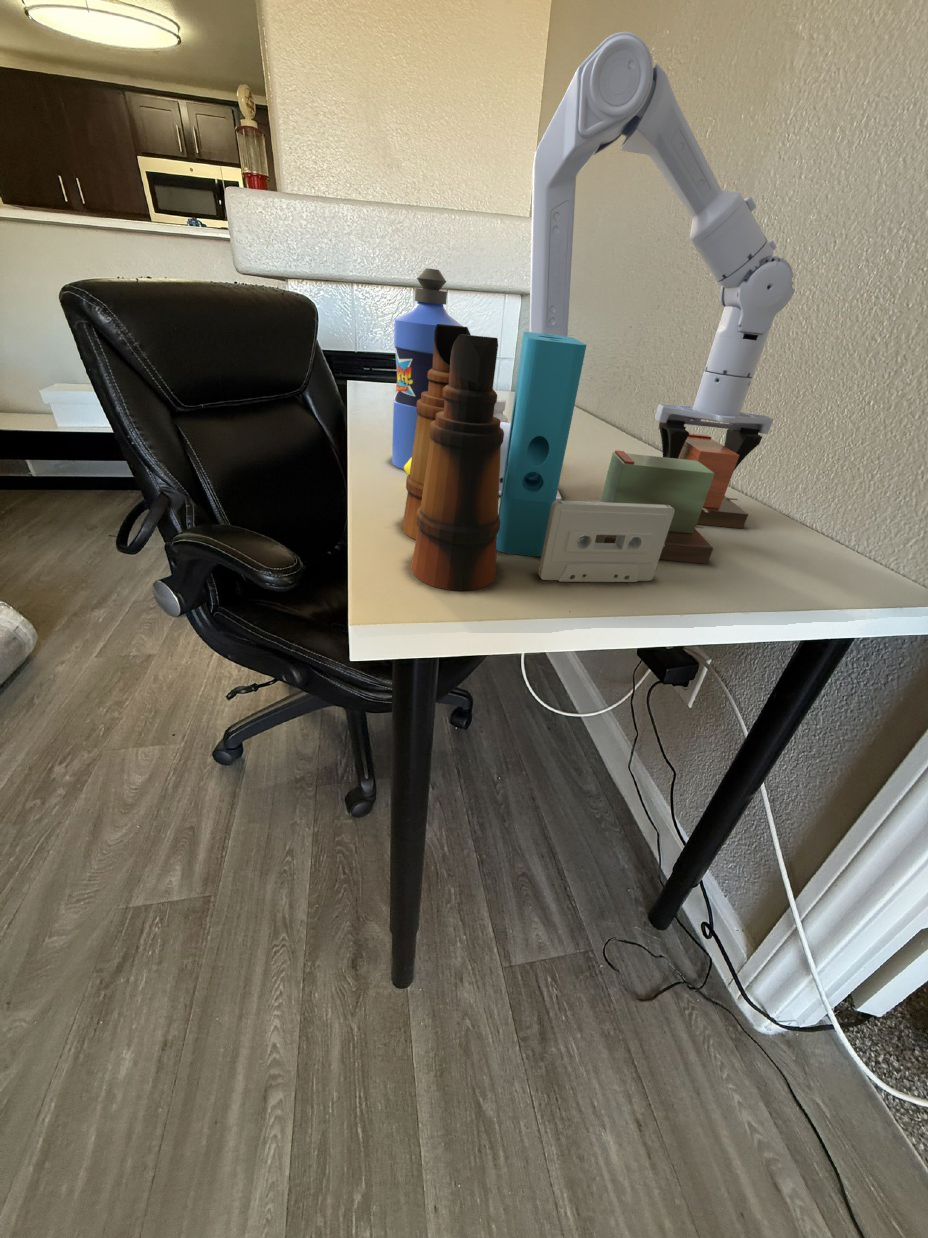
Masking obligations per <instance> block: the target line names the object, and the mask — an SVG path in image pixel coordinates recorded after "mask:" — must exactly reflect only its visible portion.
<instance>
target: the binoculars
mask: <svg viewBox="0 0 928 1238" xmlns="http://www.w3.org/2000/svg"><path fill="white" fill-rule="evenodd" d="M498 339H499V338H498V337H492V336H483V335H482V336H481V335H473V334H471V332H470V330H469V327H468V326H464V325H462V326H454V325H444V324H437V325H436V328H435V332H434V350H433V367H432V369H431V370H429V371H428V376H427V378H428V380H429V386H428V391H425V392H422V393H421V399H419V400H418V401H417V407H416V411H417V414H418V415H417V423H416V430H415V438H414V445H413V453H412V460H411V467H410V474H409V475H407V476H406V480H405V481H406V482H405V489H406V491H407V495H406V500H405V507H404V514H403V520H402V525H401V530H402V531H403V533H404V534H405V535H407V536H408V537H409V538H411V539H413V540H415V542H414V544H415V545H414V549H413V554H412V558H411V559H412V560H411V567H410V570H411V572H412V574H413V576H414V577H415V578H417V579H418V580H419V581H421V582H422V583H424V584H426V585H428V586H431V587H433V588H438V589H441V590H447V591H459V592H464V591H474V590H478V589H482V588H485V587H487V586H489V585H490V584H491V583H493V582H494V580H495V579H496V576H497V549H496V539H497V533H498V531H499V528H500V518H499V515H498V513H499V502H500V495H499V477H500V453H501V445H502V443H503V439H504V431H503V429H502V428H500V423H501V421H500V419H498V418H496V417H493V415H494V406H495V404H496V402H497V398H498V394H497V391H495V390H494V383H495V382H494V381H495V375H496V374H495V373H496V366H497V358H498V349H499V340H498Z"/></svg>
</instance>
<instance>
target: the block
mask: <svg viewBox="0 0 928 1238" xmlns="http://www.w3.org/2000/svg"><path fill="white" fill-rule="evenodd" d="M586 349H587V344H586V343H584V342H582V341H580V340H578V339H577V338H574V337H572V336H567V337H566V336H558V335H550V334H541V333H533V332H529V331H523V333H522V340H521V348H520V355H519V362H518V368H517V369H518V370H517V376H516V382H515V383H516V384H515V390H514V396H513V404H512V405H513V406H512V410H511V411H512V412H511V419H510V423H511V425H510V432H509V439H508V446H507V453H506V460H505V468H504V475H503V483H502V490H501V496H500V497H499V505H498V515H499V518H500V528H499V531H498V533H497V535H496V551H498V552H499V553H504V554H511V555H520V556H527V557H542V551H543V546H544V541H545V536H546V531H547V526H548V520H549V515H550V510H551V505H552V503H553V501H555V500H556V496H557V491H559V485H560V480H561V475H562V469H563V466H564V465H563V464H564V462H565V461H564V460H565V455H566V451H567V444H568V439H569V434H570V430H571V425H572V420H573V415H574V411H575V404H576V399H577V395H578V391H579V385H580V379H581V375H582V370H583V364H584V359H585V356H586V355H585V354H586Z"/></svg>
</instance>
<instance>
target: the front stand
mask: <svg viewBox="0 0 928 1238" xmlns="http://www.w3.org/2000/svg"><path fill="white" fill-rule="evenodd" d="M584 502H596V500H594V501H593V500H584ZM704 528H705V526H704V525H698V524H697V525H696V527H695V530H694V533H693V534H691V533H681V532H671V531H668V533H667V536H666V539H665V543H664V546H663V549H662V552H661V555H660V558H659V560H661V561H671V562H672V561H673V562H674V561H675V562H683V563H694V564H706V565H708V564H709V561H710V558H711V555H712V553H713V552H714V546H713V545H711V543H710V542H709V541H708V540H707V539H706V538H705V537H704V536H703V535H702V534H701V533H700V532H699V531H698V530H697V529H704ZM616 537H617V535H596V539H595V543H615V541H616Z"/></svg>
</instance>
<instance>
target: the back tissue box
mask: <svg viewBox="0 0 928 1238" xmlns="http://www.w3.org/2000/svg"><path fill="white" fill-rule="evenodd" d="M738 458H739V455H738V454H737V453H735V452H733V451H731V450H730V449H728V448H726V447H725V446H724V445H723V444H721V443H720V442H718V441H716V440H714V439H713V438H712V436H710V435H709V434H707V435H706V434H699V433H690V432H689V436H688V437H687V439H686V441H685V443H684V445H683V448H682V450H681V452H680V455H679V457H678V459H684V460H694V461H698V462H700V463H701V464H702V465H704V466H705V467H707V468H708V469H709V470H711V471H712V472H714V473H715V474H714V477H713V479H712V482H711V485H710V488H709V491H708V494H707V496H706V499H705V502H704V505H703V507H710V508H720V506H721V504H722V501H723V498H724V496H726V493H727V490H728V487H729V485H730V482H731V479H732V476H733V474H734V472H735V470H736V469H735V466H736V463H737V461H738ZM734 469H735V470H734ZM733 471H734V472H733Z"/></svg>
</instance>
